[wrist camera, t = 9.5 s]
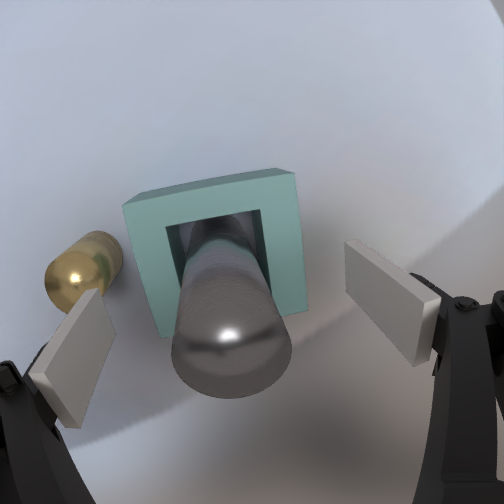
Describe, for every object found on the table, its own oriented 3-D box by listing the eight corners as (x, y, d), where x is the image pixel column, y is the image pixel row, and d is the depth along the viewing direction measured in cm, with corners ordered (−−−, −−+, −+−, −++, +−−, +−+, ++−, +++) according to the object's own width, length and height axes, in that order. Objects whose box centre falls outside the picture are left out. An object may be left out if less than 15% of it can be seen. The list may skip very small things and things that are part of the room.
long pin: (196, 268, 23) (189, 405, 10) (185, 217, 22) (155, 317, 9) (248, 258, 24) (295, 386, 10) (239, 207, 22) (286, 293, 9)
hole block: (168, 303, 24) (160, 338, 19) (140, 193, 21) (121, 205, 16) (289, 280, 25) (308, 310, 20) (275, 168, 22) (294, 173, 17)
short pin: (86, 282, 22) (58, 319, 17) (72, 236, 21) (36, 263, 15) (129, 274, 23) (108, 312, 17) (115, 226, 21) (87, 251, 16)
